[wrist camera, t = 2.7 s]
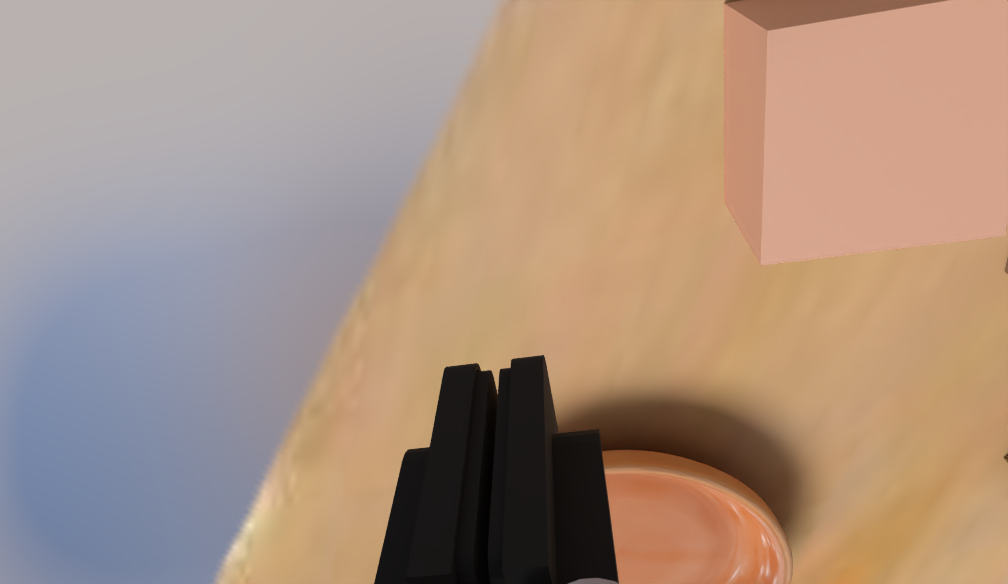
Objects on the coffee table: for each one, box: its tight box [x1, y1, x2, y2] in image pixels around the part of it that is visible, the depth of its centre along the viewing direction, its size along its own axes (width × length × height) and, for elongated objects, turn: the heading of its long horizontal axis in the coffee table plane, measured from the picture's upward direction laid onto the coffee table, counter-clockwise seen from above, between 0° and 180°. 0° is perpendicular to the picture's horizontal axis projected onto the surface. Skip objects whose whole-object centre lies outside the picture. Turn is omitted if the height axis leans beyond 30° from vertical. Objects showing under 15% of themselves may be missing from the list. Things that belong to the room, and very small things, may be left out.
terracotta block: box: [724, 0, 1008, 265], centre depth 20 cm, size 7×7×5 cm
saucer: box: [602, 450, 793, 584], centre depth 34 cm, size 16×16×3 cm
